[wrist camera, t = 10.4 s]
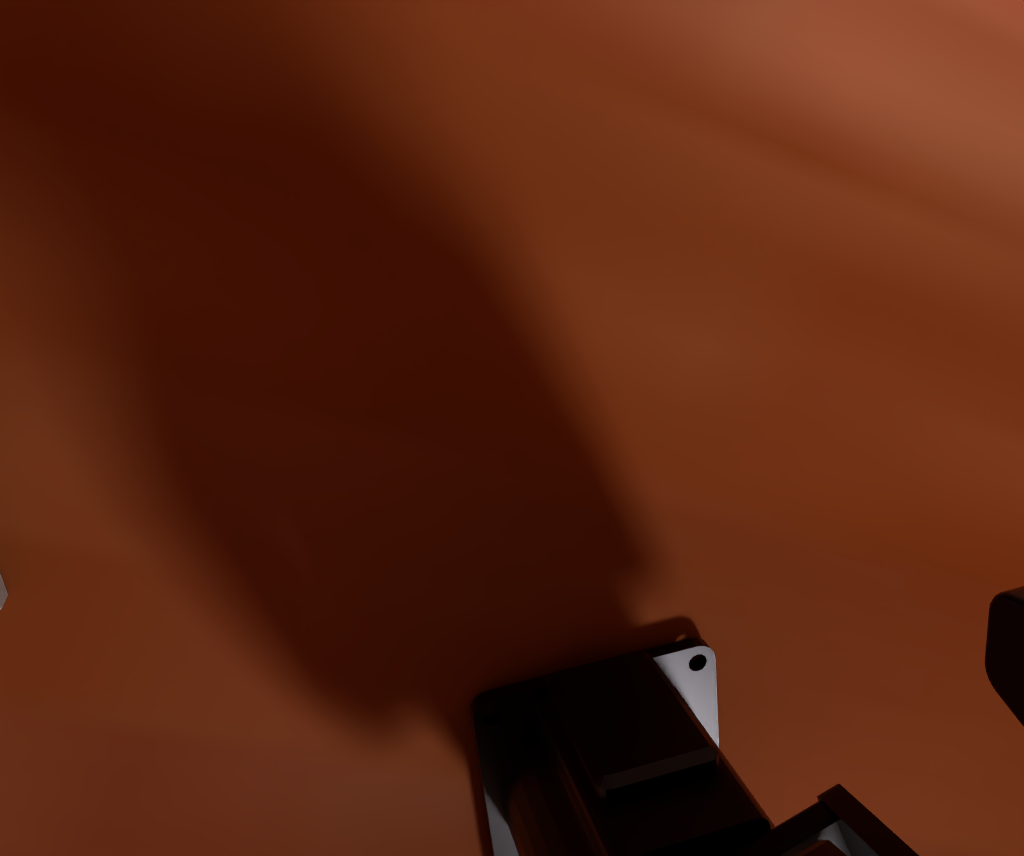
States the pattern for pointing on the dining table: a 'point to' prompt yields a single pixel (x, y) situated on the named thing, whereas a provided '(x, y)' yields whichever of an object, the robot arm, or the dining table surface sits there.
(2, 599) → the rubber mat
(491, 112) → the dining table surface
